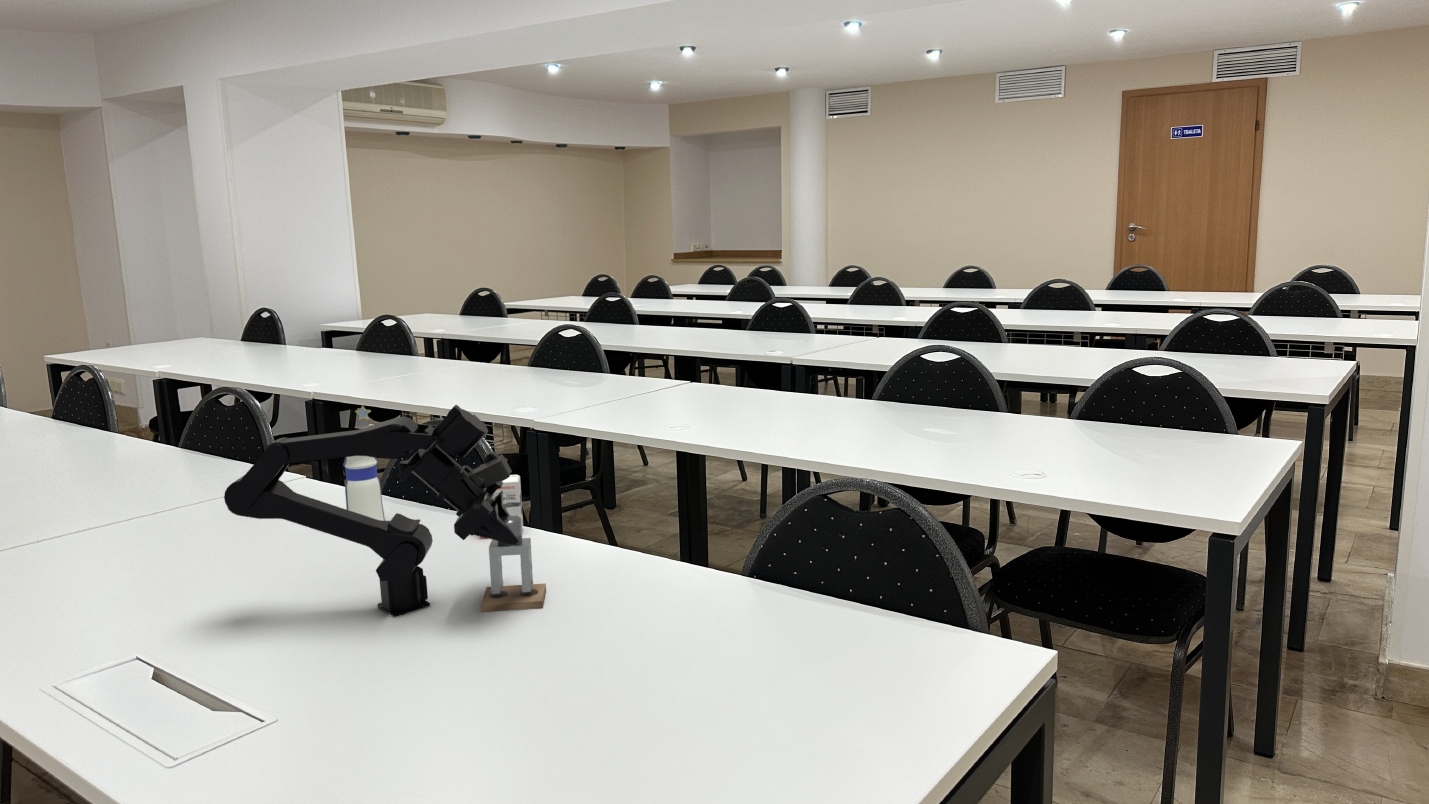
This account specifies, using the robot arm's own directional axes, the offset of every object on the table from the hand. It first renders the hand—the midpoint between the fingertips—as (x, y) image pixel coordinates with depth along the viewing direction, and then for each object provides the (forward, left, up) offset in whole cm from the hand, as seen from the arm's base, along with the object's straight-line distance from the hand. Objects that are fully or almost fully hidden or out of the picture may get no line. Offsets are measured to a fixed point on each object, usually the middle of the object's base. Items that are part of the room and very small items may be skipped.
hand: (518, 538), depth 159 cm
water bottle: (+1, +63, -11) cm, 64 cm away
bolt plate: (-1, +1, -11) cm, 11 cm away
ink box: (+17, +34, -11) cm, 39 cm away
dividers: (-1, +1, -9) cm, 9 cm away
